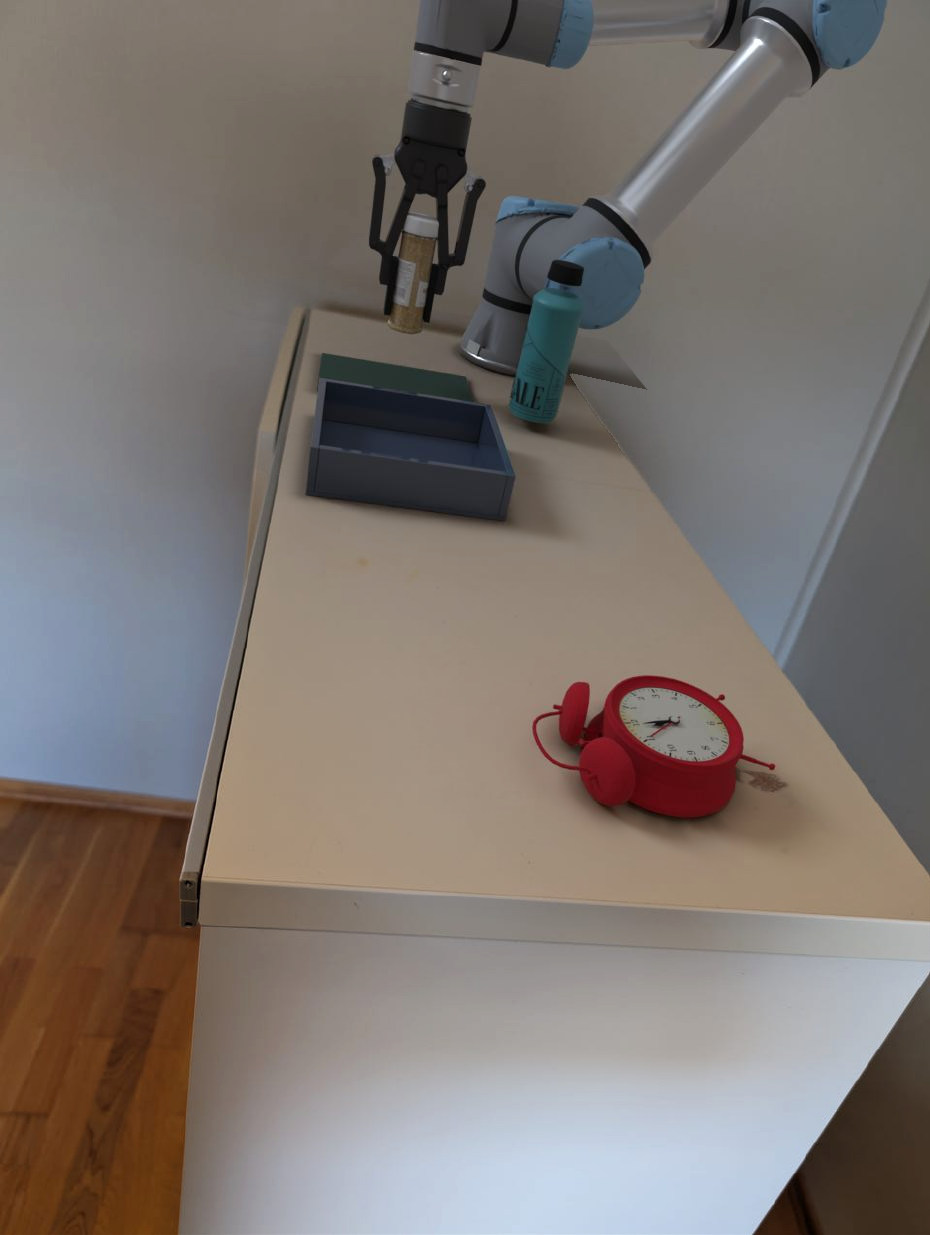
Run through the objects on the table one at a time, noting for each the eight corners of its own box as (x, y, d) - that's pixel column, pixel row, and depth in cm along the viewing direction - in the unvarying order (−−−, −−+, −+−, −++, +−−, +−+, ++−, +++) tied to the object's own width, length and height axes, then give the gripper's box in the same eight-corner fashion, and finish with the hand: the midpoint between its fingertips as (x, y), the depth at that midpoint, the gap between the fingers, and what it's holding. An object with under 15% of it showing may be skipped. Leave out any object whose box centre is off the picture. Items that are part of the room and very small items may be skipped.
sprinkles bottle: (427, 336, 109) (447, 223, 101) (393, 333, 106) (412, 217, 99) (413, 325, 112) (433, 214, 105) (381, 322, 110) (398, 208, 103)
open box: (482, 444, 102) (491, 404, 99) (505, 521, 85) (516, 476, 83) (315, 419, 98) (319, 377, 95) (305, 494, 82) (310, 446, 79)
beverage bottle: (553, 421, 113) (595, 263, 103) (553, 439, 108) (597, 273, 97) (505, 410, 113) (542, 251, 103) (502, 427, 108) (540, 260, 97)
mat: (465, 380, 121) (465, 376, 120) (475, 416, 109) (476, 412, 109) (321, 356, 117) (322, 352, 117) (316, 391, 105) (317, 387, 105)
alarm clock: (798, 776, 54) (602, 739, 48) (743, 843, 57) (552, 816, 51) (721, 674, 62) (546, 631, 56) (676, 738, 65) (505, 703, 59)
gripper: (362, 88, 91) (336, 311, 104) (520, 124, 94) (476, 336, 107) (362, 85, 97) (337, 296, 110) (510, 118, 101) (470, 320, 113)
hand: (406, 315), depth 108 cm, fingers closed on sprinkles bottle, 4 cm apart
